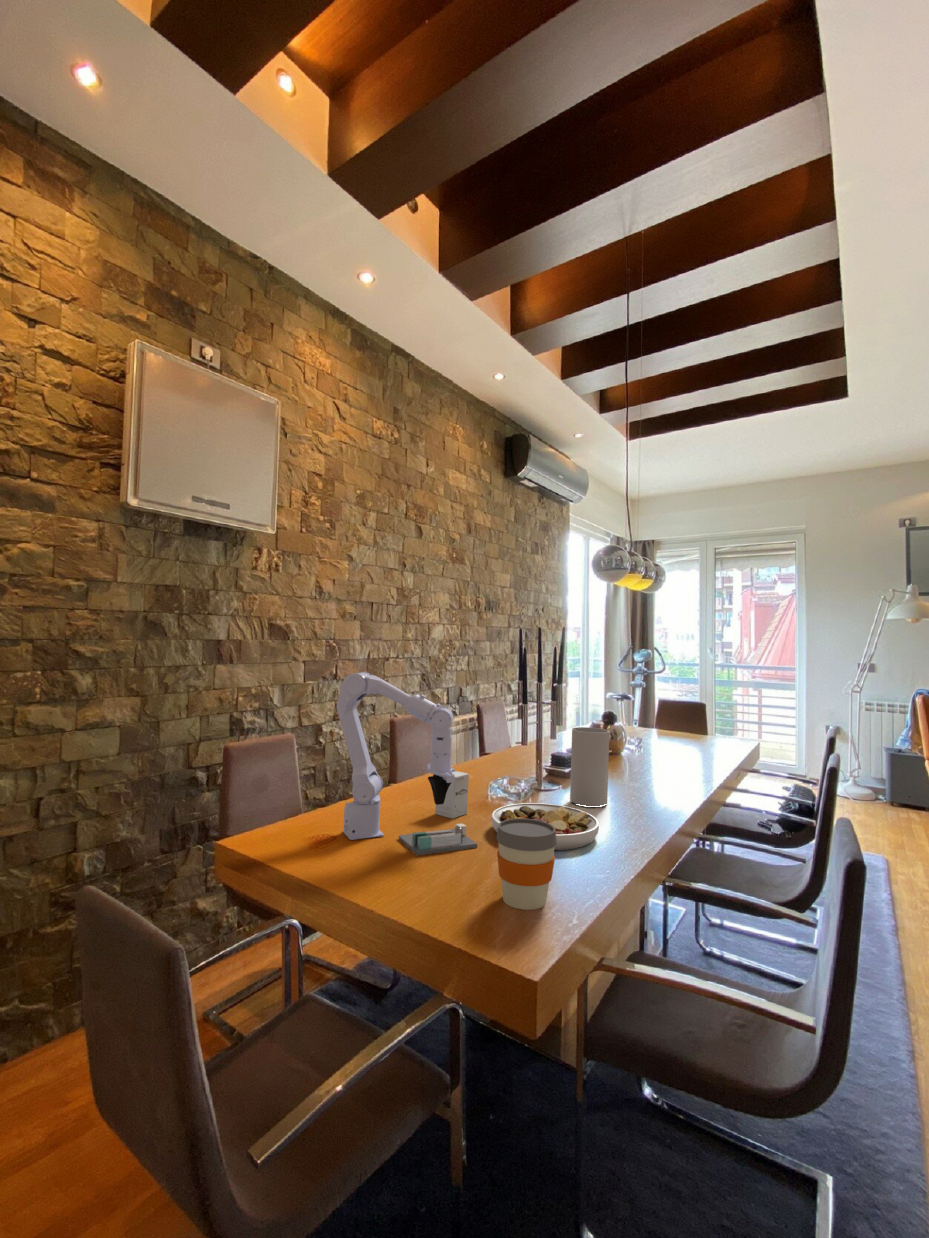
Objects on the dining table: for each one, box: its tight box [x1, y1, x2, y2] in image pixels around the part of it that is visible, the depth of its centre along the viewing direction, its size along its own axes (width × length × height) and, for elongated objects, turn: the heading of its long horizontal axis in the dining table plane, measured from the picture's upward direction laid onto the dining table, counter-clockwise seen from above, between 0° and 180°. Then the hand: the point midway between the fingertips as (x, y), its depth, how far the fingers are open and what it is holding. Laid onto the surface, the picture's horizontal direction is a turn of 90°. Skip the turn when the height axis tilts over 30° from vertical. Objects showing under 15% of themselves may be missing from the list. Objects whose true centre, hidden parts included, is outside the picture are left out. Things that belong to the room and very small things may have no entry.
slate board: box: [398, 828, 478, 856], centre depth 152 cm, size 17×13×1 cm
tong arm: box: [411, 828, 453, 846], centre depth 149 cm, size 10×2×3 cm, turn 114°
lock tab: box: [455, 823, 467, 836], centre depth 157 cm, size 2×2×2 cm
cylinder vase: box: [569, 726, 610, 806], centre depth 198 cm, size 12×12×25 cm
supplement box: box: [435, 770, 470, 820], centre depth 179 cm, size 7×7×13 cm
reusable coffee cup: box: [496, 819, 557, 911], centre depth 121 cm, size 13×13×15 cm
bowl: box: [491, 802, 600, 851], centre depth 163 cm, size 30×30×8 cm
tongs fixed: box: [417, 826, 463, 850], centre depth 148 cm, size 13×3×4 cm, turn 116°
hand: (439, 803), depth 156 cm, fingers closed
